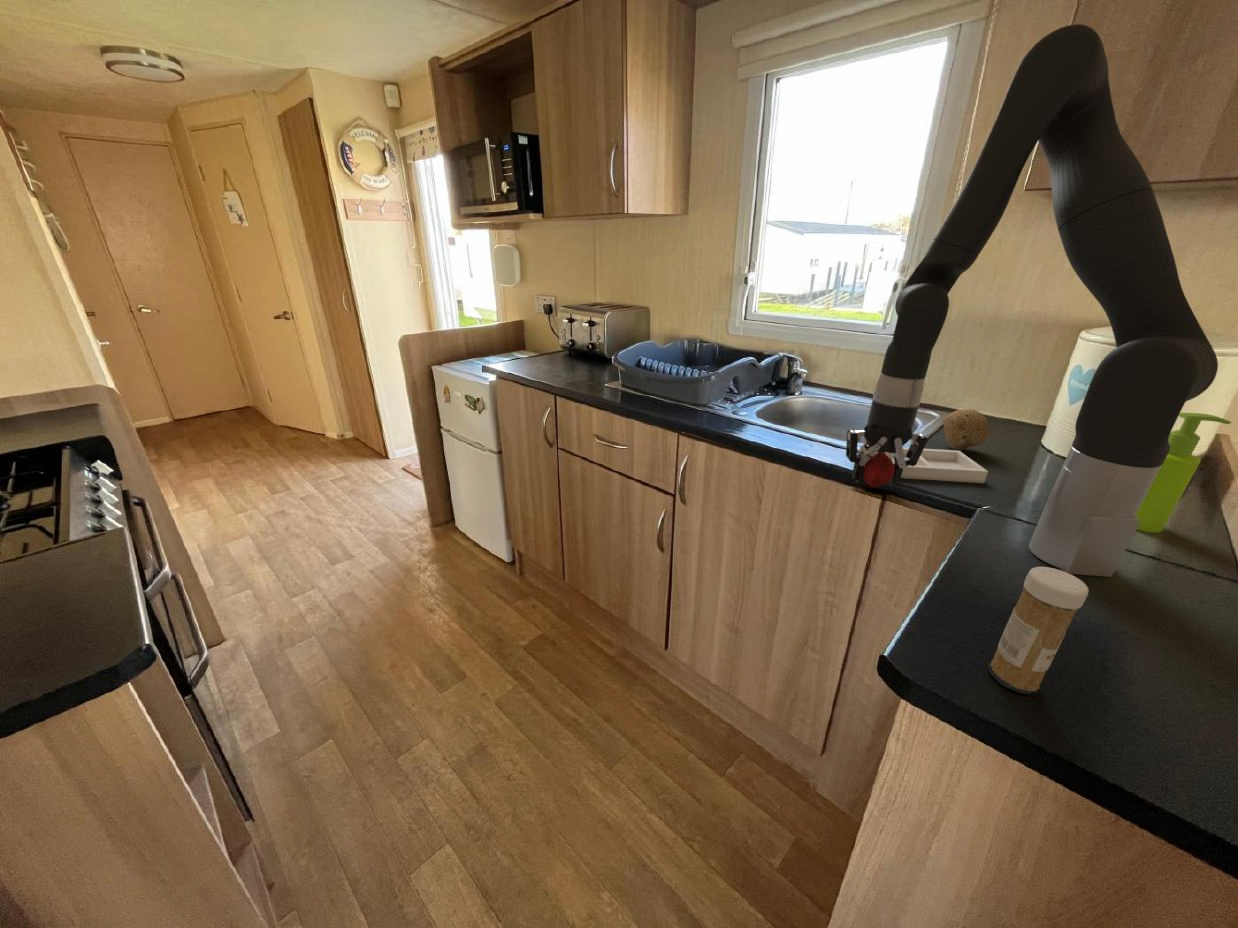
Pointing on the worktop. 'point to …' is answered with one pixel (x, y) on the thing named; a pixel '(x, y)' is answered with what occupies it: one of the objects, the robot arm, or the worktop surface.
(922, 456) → the well holder
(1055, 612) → the sprinkles bottle
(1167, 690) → the worktop surface
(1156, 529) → the soap dispenser
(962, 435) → the natural sponge
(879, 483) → the onion
